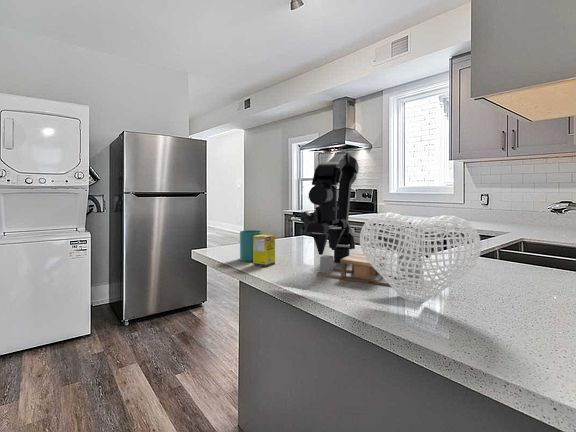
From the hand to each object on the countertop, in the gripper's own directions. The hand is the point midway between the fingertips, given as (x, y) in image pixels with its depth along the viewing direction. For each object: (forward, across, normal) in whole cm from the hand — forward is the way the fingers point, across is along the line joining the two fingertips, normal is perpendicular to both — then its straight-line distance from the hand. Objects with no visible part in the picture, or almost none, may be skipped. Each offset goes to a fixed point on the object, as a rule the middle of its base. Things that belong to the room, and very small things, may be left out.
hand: (327, 252), depth 110 cm
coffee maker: (+8, -13, +24) cm, 28 cm away
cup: (+8, -9, -36) cm, 38 cm away
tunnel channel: (+8, 0, +12) cm, 14 cm away
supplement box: (+8, -3, -27) cm, 28 cm away
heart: (+8, +13, +30) cm, 33 cm away
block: (+6, 0, +12) cm, 14 cm away
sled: (+8, 0, +8) cm, 11 cm away
